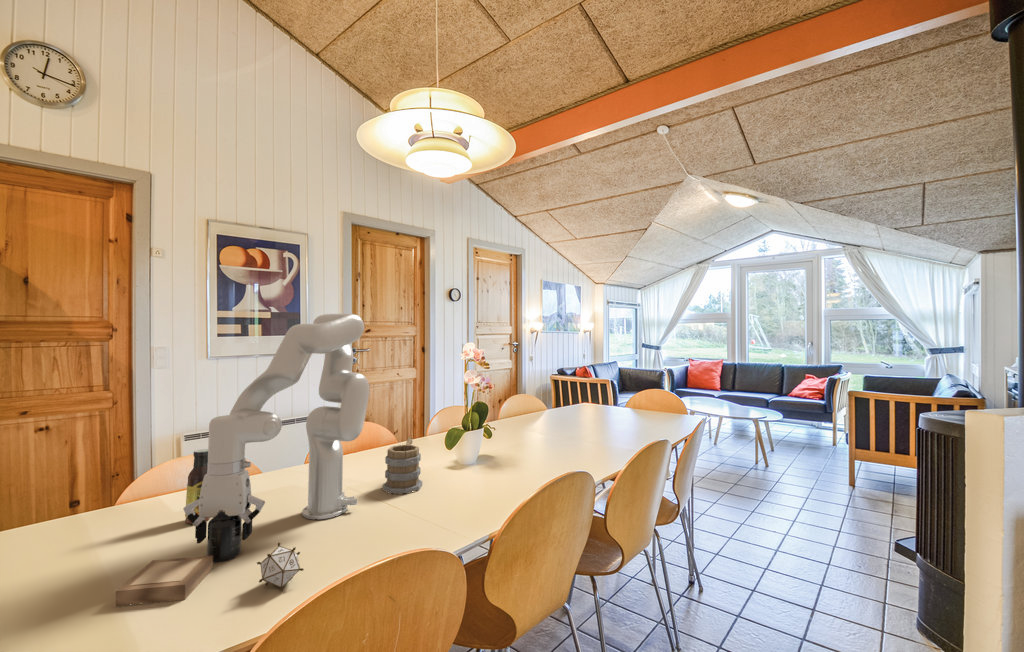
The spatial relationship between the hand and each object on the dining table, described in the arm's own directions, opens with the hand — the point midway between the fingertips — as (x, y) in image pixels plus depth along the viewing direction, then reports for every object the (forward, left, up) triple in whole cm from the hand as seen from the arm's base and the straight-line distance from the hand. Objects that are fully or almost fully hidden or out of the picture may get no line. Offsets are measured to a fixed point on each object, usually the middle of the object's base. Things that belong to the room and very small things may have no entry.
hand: (223, 539), depth 106 cm
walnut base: (+6, +12, -4) cm, 14 cm away
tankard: (-41, -45, -4) cm, 61 cm away
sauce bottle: (+16, -24, -4) cm, 29 cm away
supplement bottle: (0, 0, -4) cm, 4 cm away
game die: (-17, +16, -4) cm, 24 cm away
